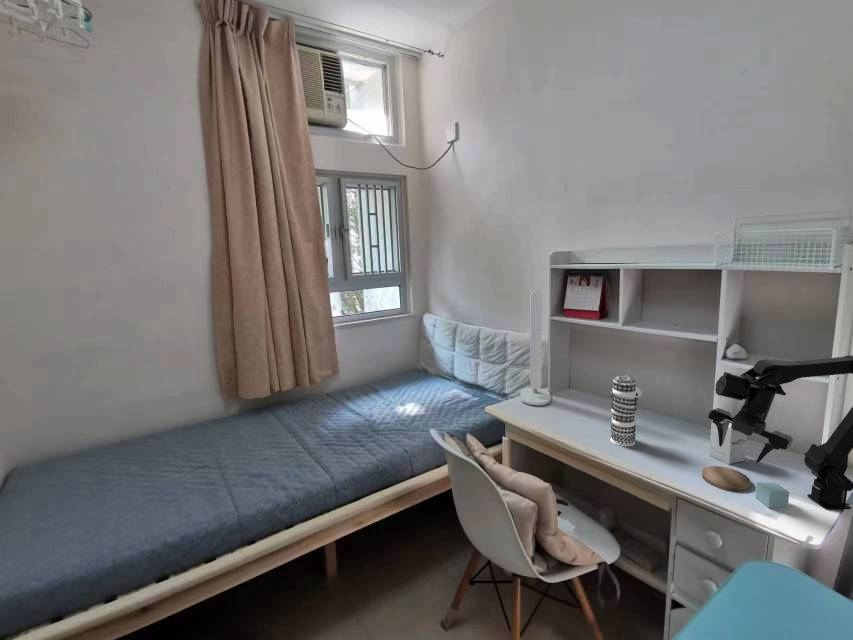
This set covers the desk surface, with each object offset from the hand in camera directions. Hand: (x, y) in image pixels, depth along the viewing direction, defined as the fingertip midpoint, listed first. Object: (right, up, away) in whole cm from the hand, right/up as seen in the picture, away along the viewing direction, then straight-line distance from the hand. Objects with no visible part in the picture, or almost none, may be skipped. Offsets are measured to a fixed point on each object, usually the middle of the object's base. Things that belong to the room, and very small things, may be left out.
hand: (738, 454), depth 121 cm
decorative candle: (-16, -7, +38) cm, 42 cm away
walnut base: (+3, -11, +9) cm, 14 cm away
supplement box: (+12, -9, +22) cm, 27 cm away
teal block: (+7, -13, -3) cm, 15 cm away
